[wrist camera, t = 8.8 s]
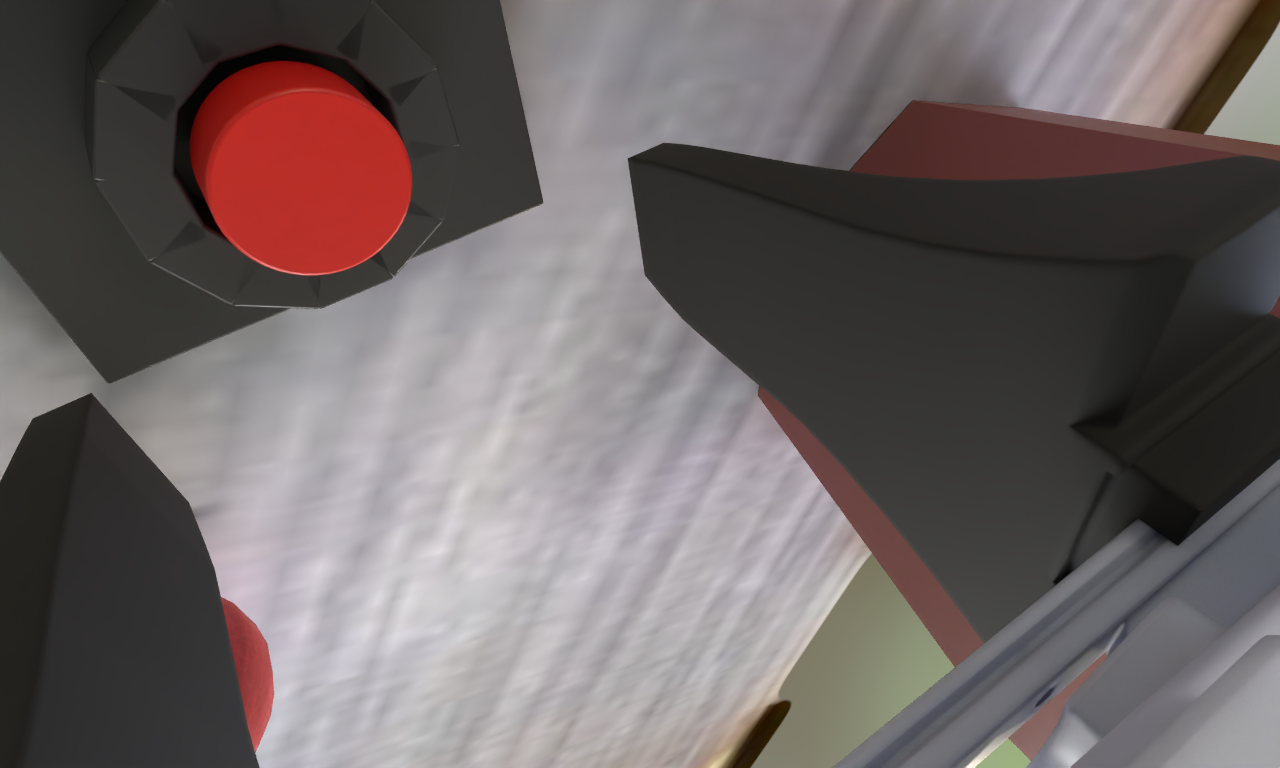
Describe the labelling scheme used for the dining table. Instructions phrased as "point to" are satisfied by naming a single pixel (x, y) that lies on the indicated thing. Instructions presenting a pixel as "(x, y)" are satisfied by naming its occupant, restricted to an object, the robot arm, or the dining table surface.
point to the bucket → (990, 151)
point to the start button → (299, 168)
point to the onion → (251, 669)
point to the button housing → (161, 165)
